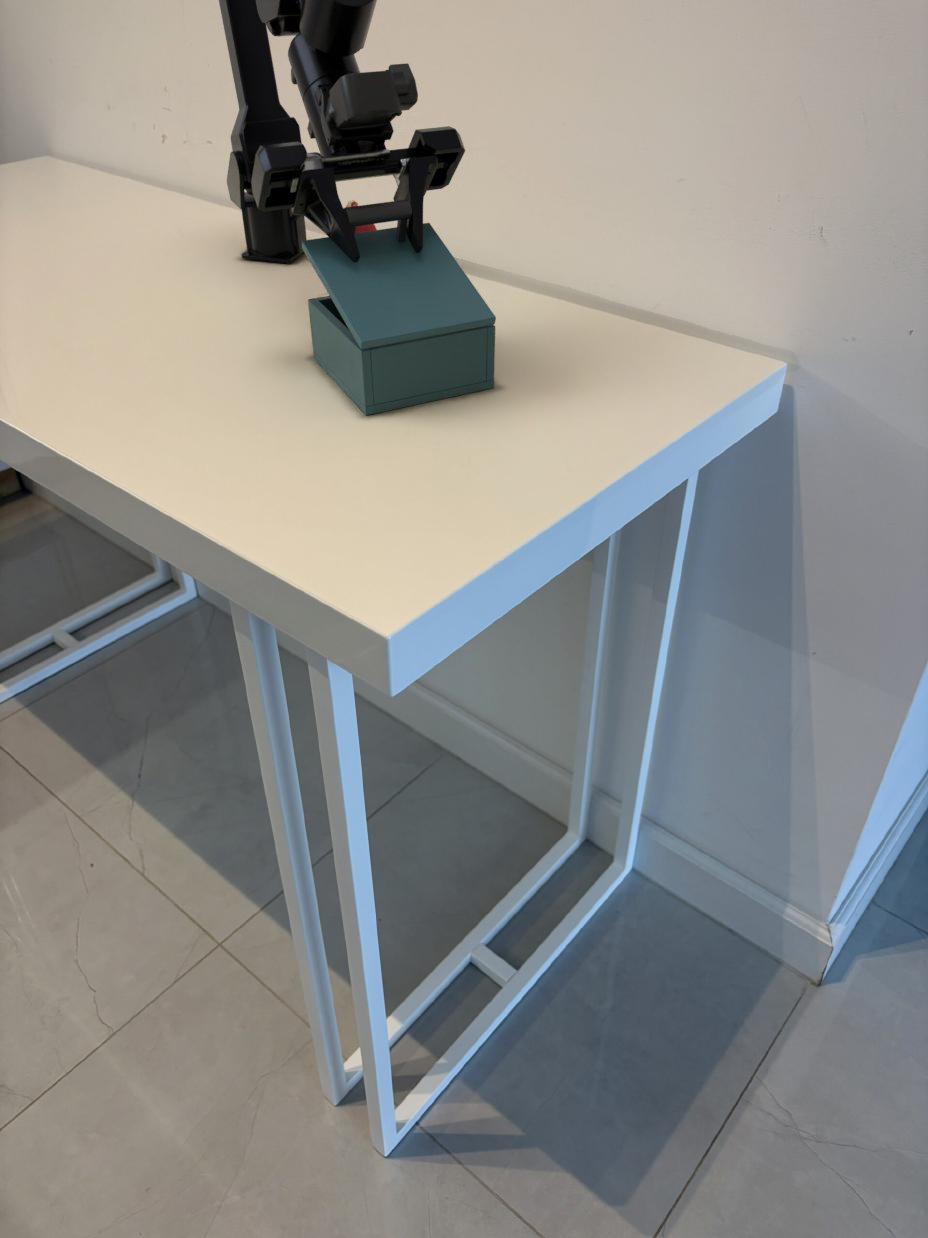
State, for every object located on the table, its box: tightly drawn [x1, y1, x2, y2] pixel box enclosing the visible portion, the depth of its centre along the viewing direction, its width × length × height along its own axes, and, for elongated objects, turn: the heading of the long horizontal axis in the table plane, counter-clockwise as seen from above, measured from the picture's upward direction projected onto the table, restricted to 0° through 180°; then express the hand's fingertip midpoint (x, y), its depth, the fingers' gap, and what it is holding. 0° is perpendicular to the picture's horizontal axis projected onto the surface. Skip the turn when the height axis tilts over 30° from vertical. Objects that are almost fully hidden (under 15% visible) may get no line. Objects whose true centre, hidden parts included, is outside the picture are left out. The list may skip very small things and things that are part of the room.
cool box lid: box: [302, 200, 497, 349], centre depth 81 cm, size 14×13×5 cm
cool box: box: [307, 295, 496, 416], centre depth 86 cm, size 14×13×6 cm
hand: (388, 255), depth 83 cm, fingers closed on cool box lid, 6 cm apart
